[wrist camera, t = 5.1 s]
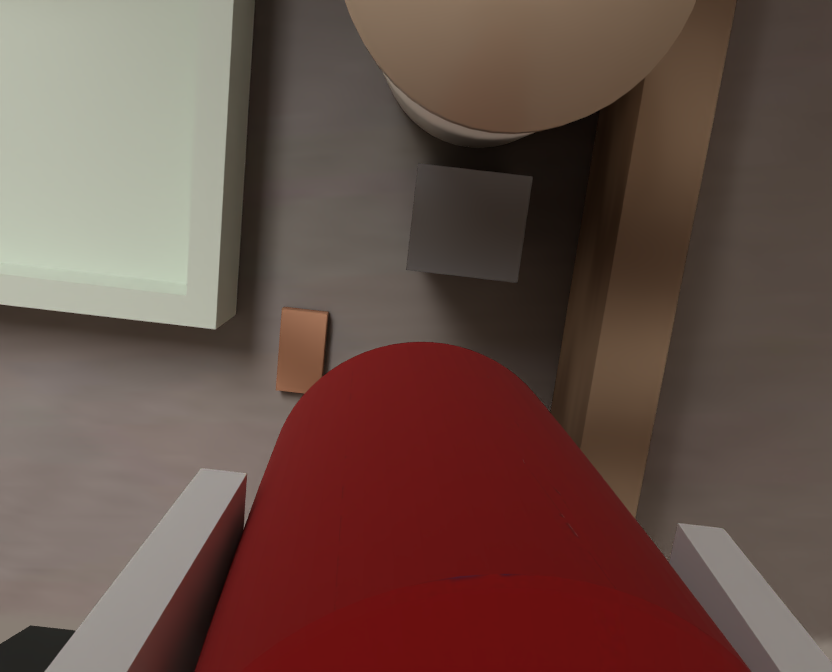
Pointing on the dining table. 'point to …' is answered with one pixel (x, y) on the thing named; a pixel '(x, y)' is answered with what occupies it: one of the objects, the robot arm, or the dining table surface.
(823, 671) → the robot arm
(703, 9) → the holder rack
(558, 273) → the dining table surface
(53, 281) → the tray
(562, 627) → the beverage can
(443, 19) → the ceramic jar
